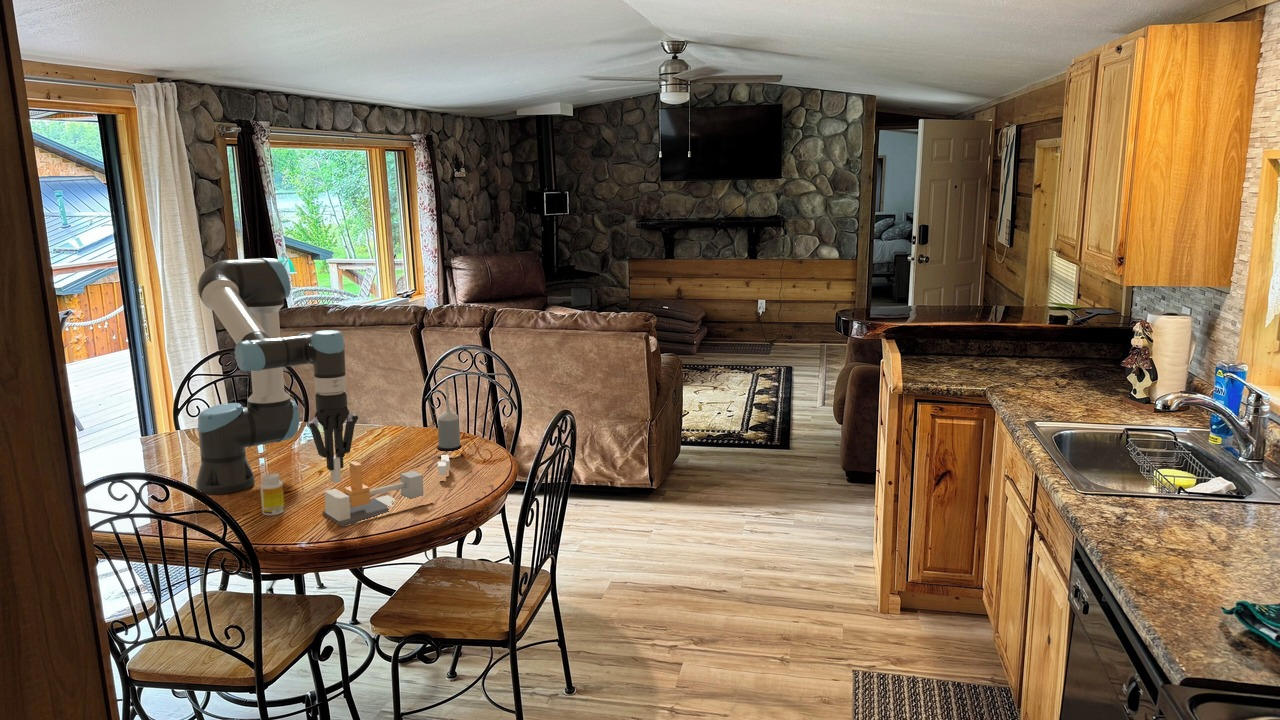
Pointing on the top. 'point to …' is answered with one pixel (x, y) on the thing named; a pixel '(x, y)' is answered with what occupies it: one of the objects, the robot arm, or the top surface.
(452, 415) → the grey bottle
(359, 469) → the orange rod slider
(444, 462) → the white blocky piece
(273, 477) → the supplement bottle
